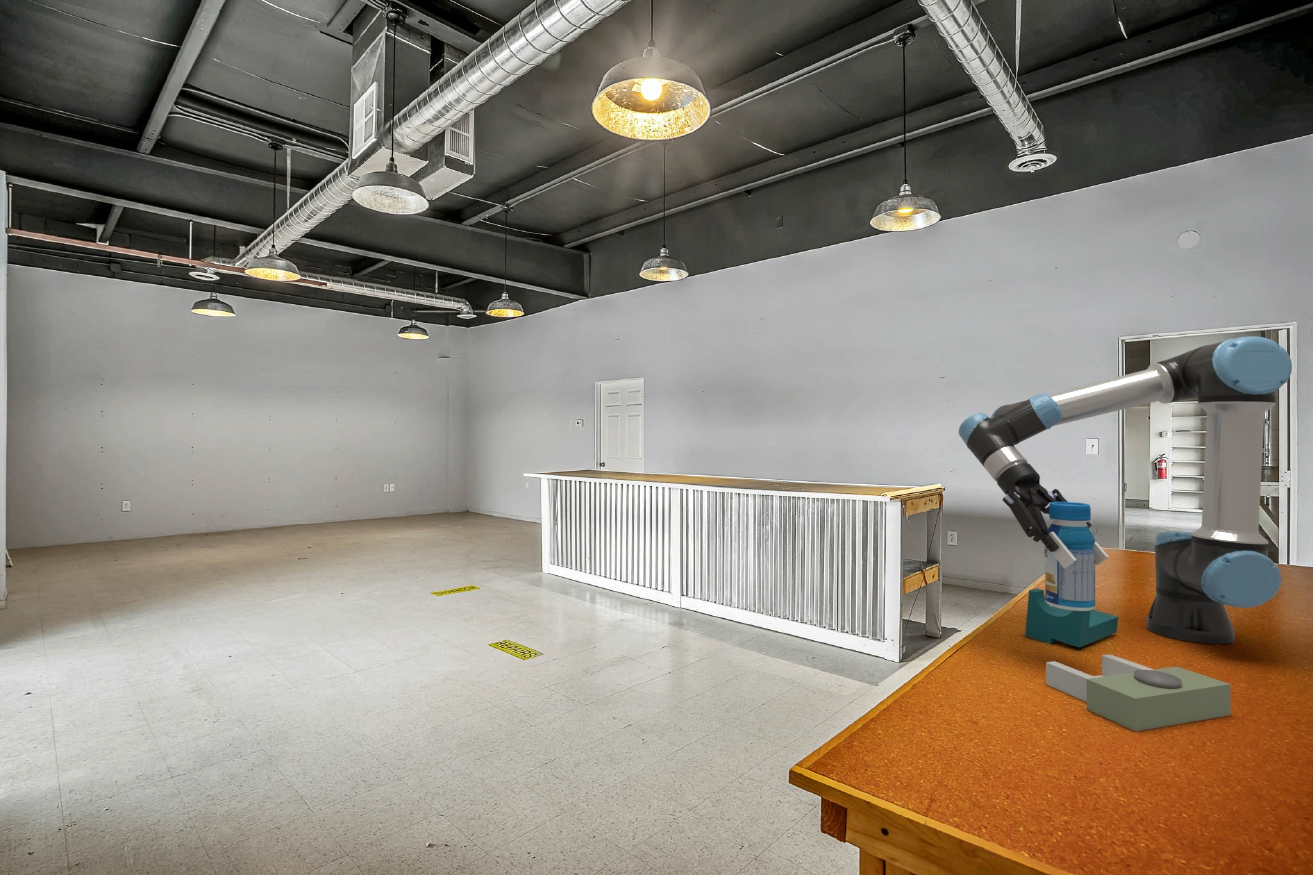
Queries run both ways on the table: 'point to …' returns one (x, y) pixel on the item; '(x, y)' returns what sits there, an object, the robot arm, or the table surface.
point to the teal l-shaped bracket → (1065, 623)
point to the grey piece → (1143, 693)
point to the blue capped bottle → (1077, 580)
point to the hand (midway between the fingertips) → (1086, 562)
